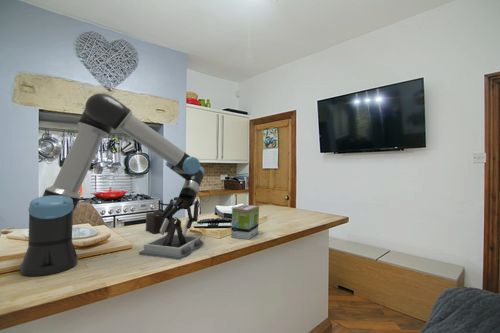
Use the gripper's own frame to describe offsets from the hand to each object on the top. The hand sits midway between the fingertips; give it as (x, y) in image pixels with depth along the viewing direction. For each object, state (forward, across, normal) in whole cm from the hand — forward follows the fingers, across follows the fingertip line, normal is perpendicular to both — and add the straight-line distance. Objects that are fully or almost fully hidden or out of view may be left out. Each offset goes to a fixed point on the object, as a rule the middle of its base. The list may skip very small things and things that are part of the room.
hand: (172, 233), depth 106 cm
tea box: (-17, -24, -27) cm, 41 cm away
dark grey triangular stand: (+3, -1, -5) cm, 6 cm away
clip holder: (+4, 0, -6) cm, 7 cm away
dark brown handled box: (-17, +21, -27) cm, 38 cm away
